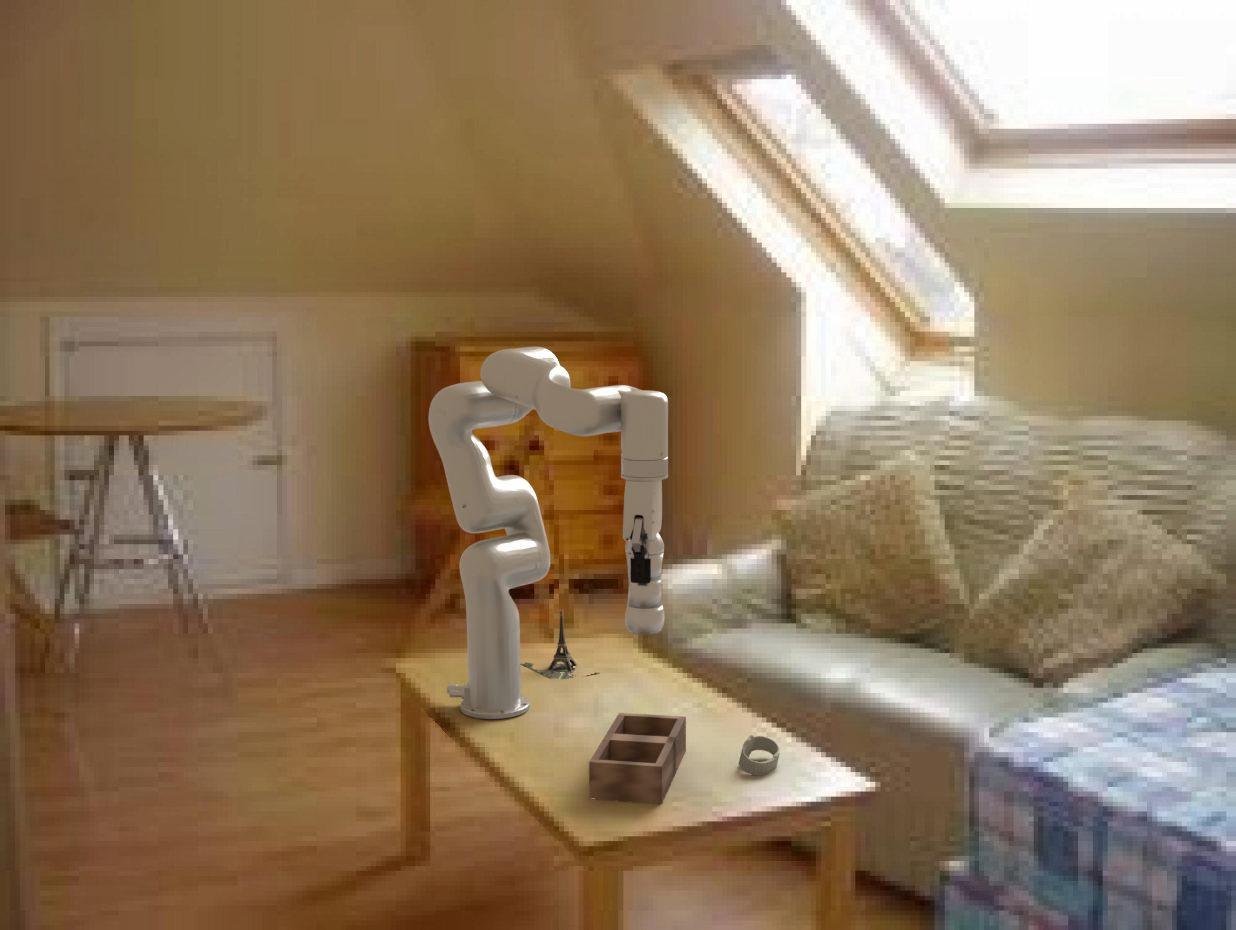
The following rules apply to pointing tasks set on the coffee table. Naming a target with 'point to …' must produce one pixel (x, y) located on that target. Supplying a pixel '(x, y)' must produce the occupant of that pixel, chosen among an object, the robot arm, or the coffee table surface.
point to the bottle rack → (638, 758)
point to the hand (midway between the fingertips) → (644, 576)
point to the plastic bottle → (646, 593)
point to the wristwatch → (758, 744)
